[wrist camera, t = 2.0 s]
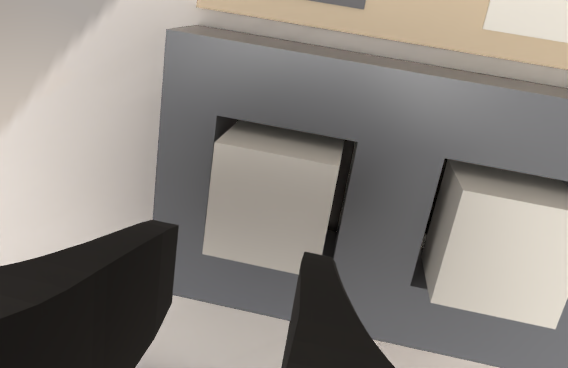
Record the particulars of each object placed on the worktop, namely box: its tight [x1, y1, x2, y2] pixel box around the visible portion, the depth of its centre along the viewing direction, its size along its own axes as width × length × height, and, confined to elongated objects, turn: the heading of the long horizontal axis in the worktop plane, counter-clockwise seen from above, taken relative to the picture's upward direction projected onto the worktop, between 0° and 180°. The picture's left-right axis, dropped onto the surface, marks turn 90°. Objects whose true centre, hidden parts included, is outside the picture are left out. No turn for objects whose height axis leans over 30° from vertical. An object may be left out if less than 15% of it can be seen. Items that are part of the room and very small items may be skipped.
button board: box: [153, 25, 568, 368], centre depth 18 cm, size 9×22×3 cm, turn 82°
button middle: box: [421, 160, 568, 329], centre depth 16 cm, size 4×4×3 cm
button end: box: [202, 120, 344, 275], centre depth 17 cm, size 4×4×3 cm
